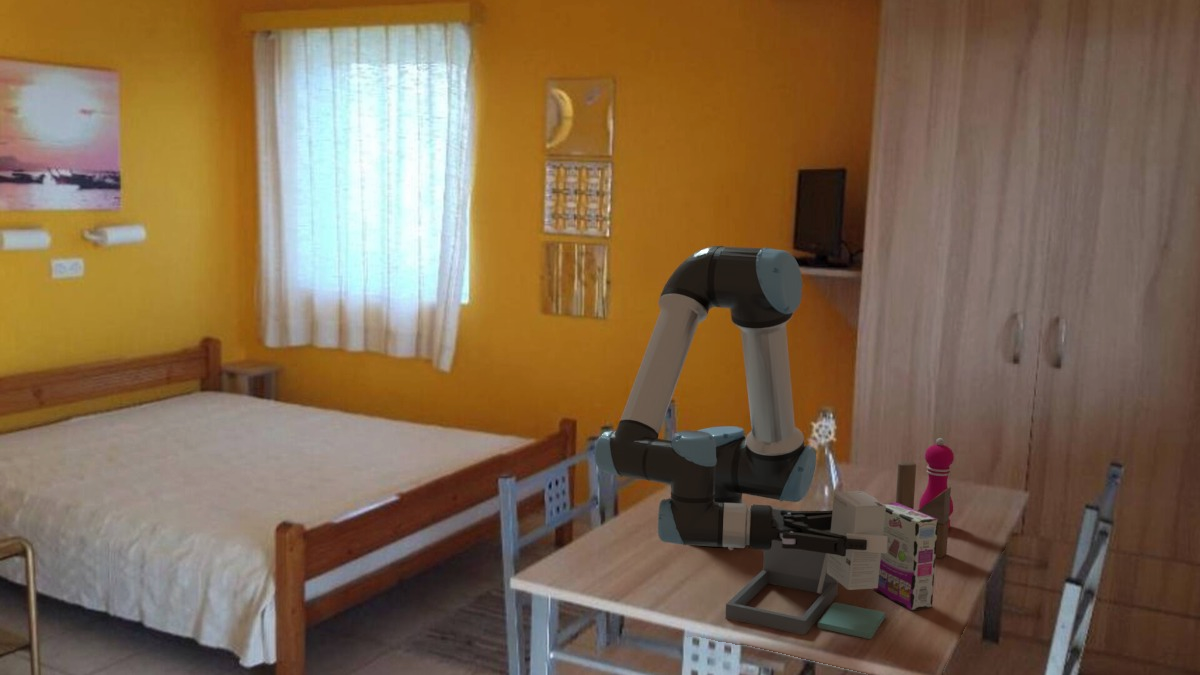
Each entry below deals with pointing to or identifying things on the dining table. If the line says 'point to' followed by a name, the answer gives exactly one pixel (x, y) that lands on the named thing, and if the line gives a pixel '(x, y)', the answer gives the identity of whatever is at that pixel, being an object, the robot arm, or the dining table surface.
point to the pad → (851, 620)
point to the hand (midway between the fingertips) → (883, 534)
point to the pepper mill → (937, 472)
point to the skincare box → (856, 517)
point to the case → (790, 572)
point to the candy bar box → (908, 557)
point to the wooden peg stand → (934, 508)
